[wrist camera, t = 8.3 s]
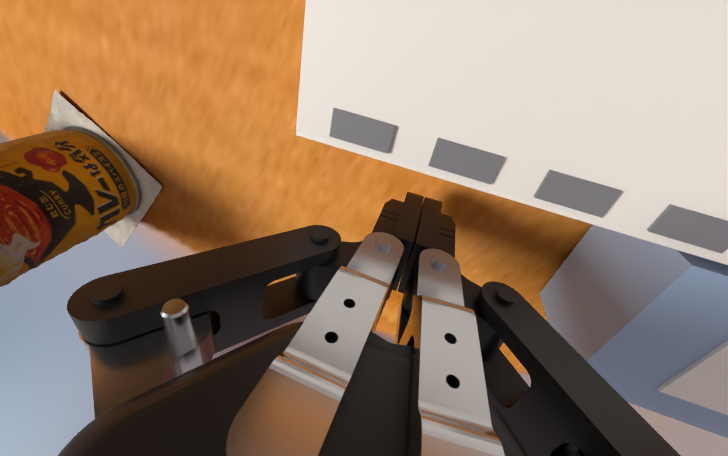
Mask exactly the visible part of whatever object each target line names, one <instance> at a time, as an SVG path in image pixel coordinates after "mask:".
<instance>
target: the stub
mask: <svg viewBox="0 0 728 456" xmlns="http://www.w3.org/2000/svg"><path fill="white" fill-rule="evenodd" d="M539 294H540V297H541V301H542V304H543V307H544V310H545V314H546V317H547V320H548V323H549V324H550V325H551V326H552V327H553V328H554V329H555V330H556V331H557V332H558V333H559V334H560V335H561V336H562V337H563V338H564V339H565V340H566V341H567V342H568V343H569V344H570V345H571V346H572V347H573V348H574V349H575V350H576V351H577V352H578V353H579V354H580V355H581V356H582V357H583V358H584V359H585V360H586V361H587V362H588V363H589V364H590V365H591V366H592V367H593V368H594V369H595V370H596V371H597V372H598V373H599V374H600V375H601V376H602V377H603V378H604V379H605V380H606V381H607V382H608V383H609V384H610V385H611V386H612V387H613V388H614V389H615V390H616V391H617V392H618V393H619V394H620V395H621V396H622V397H623V398H624V399H625V400H626V401H627V402H629V403H631V404H634V405H637V406H640V407H643V408H645V409H648V410H651V411H654V412H657V413H660V414H662V415H665V416H668V417H671V418H674V419H676V420H679V421H682V422H685V423H687V424H690V425H693V426H696V427H699V428H701V429H704V430H707V431H710V432H713V433H716V434H718V435H721V436H724V437H727V438H728V265H725V264H722V263H719V262H716V261H712V260H709V259H706V258H702V257H699V256H696V255H692V254H689V253H686V252H682V251H679V250H676V249H672V248H669V247H666V246H662V245H659V244H656V243H653V242H649V241H646V240H643V239H639V238H636V237H633V236H629V235H626V234H623V233H619V232H616V231H613V230H609V229H606V228H603V227H600V226H596V225H592V226H591V227H590V229H589V230H588V231H587V233H586V234H585V235H584V236H583V238H582V239H581V240H580V242H579V243H578V244H577V245H576V247H575V248H574V249H573V251H572V252H571V253H570V255H569V256H568V257H567V258H566V260H565V261H564V262H563V264H562V265H561V266H560V268H559V269H558V270H557V271H556V273H555V274H554V275H553V277H552V278H551V279H550V280H549V282H548V283H547V284H546V286H545V287H544V288H543V290H542V291H541V292H540V293H539Z"/></svg>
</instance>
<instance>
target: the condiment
mask: <svg viewBox="0 0 728 456" xmlns="http://www.w3.org/2000/svg"><path fill="white" fill-rule="evenodd" d="M48 119H49V120H48V124H47V127H46V128H45V130H46V131H45V133H41V134H36V135H32V136H28V137H24V138H20V139H16V140H12V141H8V142H4V143H0V287H1V286H3V285H7V284H9V283H10V282H11V281H12V280H14V279H16V278H17V277H18V276H20V275H22V274H23V273H25V272H27V271H29V270H31V269H33V268H36V267H38V266H39V265H40V264H42V263H44V262H46V261H48V260H50V259H52V258H54V257H55V256H57V255H59V254H61V253H63V252H65V251H67V250H69V249H70V248H72V247H73V246H75V245H77V244H80V243H81V242H84V241H87V240H88V239H89V238H91V237H92V236H95V235H97V234H99V233H100V232H102V231H104V232H106V233H107V234H108V235H109V236H110V237H111V238H112V239H113V240H114V241H116V242H117V243H118V244H119V245H120V246H122V247H123V246H124V245H125V243H126V242H127V240H128V239H129V237H130V235H131V234H132V232H133V231H134V229H135V228H136V227H137V225H138V223H139V222H140V221H141V219H142V218H143V217H144V215H145V214H146V212H147V210H148V209H149V208H150V206H151V204H152V203H153V202H154V200H155V198H156V197H157V195H158V194H159V192H160V190H161V188H162V186H161V185H160V184H159V183H158V182H157V181H156V180H155V179H154V178H153V177H152V176H151V175H150V174H148V173H147V171H146V170H145V169H144V168H142V167H141V166H140V165H139V164H138V163H137V161H135V160H134V159H133V158H132V157H131V156H130V155H129V154H128V153H126V152H125V151H124V150H123V149H122V148H121V147H120V146H119V145H118V144H117V143H116V142H115V141H114V140H112V139H111V138H110V137H109V136H108V135H107V134H106V133H105V132H103V131H102V130H101V129H100V128H99V127H98V126H97V125H95V124H94V123H93V122H92V121H91V120H90V119H88V118H87V117H86V116H85V115H84V114H82V113H81V112H79V111H78V110H77V109H76V108H75V107H74V106H73V105H71V104H70V103H69V102H68V101H67V100H66V99H65V98H63V97H62V96H61V95H60V94H59V93H58V92H57V91H56V90H54V94H53V100H52V105H51V111H50V114H49V116H48Z"/></svg>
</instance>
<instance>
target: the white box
mask: <svg viewBox="0 0 728 456" xmlns="http://www.w3.org/2000/svg"><path fill="white" fill-rule="evenodd" d="M296 135H298V136H301V137H305V138H308V139H311V140H314V141H318V142H321V143H324V144H328V145H331V146H334V147H338V148H341V149H344V150H348V151H351V152H354V153H358V154H361V155H364V156H367V157H371V158H374V159H377V160H381V161H384V162H387V163H391V164H394V165H397V166H401V167H404V168H407V169H411V170H414V171H417V172H421V173H424V174H427V175H430V176H434V177H437V178H440V179H444V180H447V181H450V182H454V183H457V184H460V185H464V186H467V187H470V188H474V189H477V190H480V191H484V192H487V193H490V194H493V195H497V196H500V197H503V198H507V199H510V200H513V201H517V202H520V203H523V204H527V205H530V206H533V207H537V208H540V209H543V210H546V211H550V212H553V213H556V214H560V215H563V216H566V217H570V218H573V219H576V220H580V221H583V222H586V223H590V224H593V225H596V226H600V227H603V228H606V229H609V230H613V231H616V232H619V233H623V234H626V235H629V236H633V237H636V238H639V239H643V240H646V241H649V242H653V243H656V244H659V245H662V246H666V247H669V248H672V249H676V250H679V251H682V252H686V253H689V254H692V255H696V256H699V257H702V258H706V259H709V260H712V261H716V262H719V263H722V264H725V265H728V0H306V6H305V20H304V33H303V46H302V59H301V72H300V86H299V99H298V112H297V125H296Z"/></svg>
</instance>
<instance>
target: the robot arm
mask: <svg viewBox="0 0 728 456" xmlns="http://www.w3.org/2000/svg"><path fill="white" fill-rule="evenodd" d="M423 199H424V197H423V196H420V195H417V194H413V193H410V192H407V195H406V198H405V201H404V202H401V201H397V200H394V199H391V200H390V201H388V202H386V203H385V205H384V207H383V209H382V211H381V214H380V216H379V218H378V220H377V222H376V225H375V227H374V229H373V231H372V233H370V234H368V235H367V236H366V237H365V238H364V240H363V241H361V242H342V241H341V237H340V235H339V234H338V232H336V231H335V230H334V229H332V228H330V227H327V226H322V225H312V226H308V227H304V228H299V229H295V230H291V231H287V232H283V233H279V234H275V235H271V236H267V237H263V238H259V239H254V240H250V241H246V242H242V243H238V244H234V245H230V246H226V247H222V248H218V249H214V250H210V251H205V252H201V253H197V254H193V255H189V256H185V257H181V258H177V259H173V260H169V261H165V262H161V263H156V264H152V265H148V266H144V267H140V268H136V269H132V270H128V271H124V272H120V273H115V274H111V275H107V276H104V277H101V278H97V279H95V280H92V281H90V282H88V283H87V284H85V285H83V286H82V287H80V288H79V289H78V290H76V291H75V292H74V293H73V295H72V296H71V297H70V299H69V301H68V304H67V310H68V313H69V314H70V316H71V318H72V320H73V322H74V323H75V325H76V327H77V329H78V332H79V337H80V339H81V341H82V343H83V344H84V346H85V348H86V350H87V351H88V353H89V355H90V357H91V369H92V370H91V371H92V383H93V398H94V411H95V420H93V421H92V422H91V423H89V424H88V425H87V426H86V427H84V428H83V429H82V430H81V431H80V432H79V433H78V434H77V435H76V436H75V437H74V438H73V439H72V440H71V441H70V442H69V443H68V444H67V445H66V446H65V448H64V449H63V450H62V451H61V452H60V453H59V455H58V456H680V455H679V454H678V453H677V452H676V451H675V450H674V449H673V448H672V447H671V446H670V445H669V444H668V443H667V442H666V441H665V440H664V439H663V438H662V437H661V436H660V435H659V434H658V433H657V432H656V431H655V430H654V429H653V428H652V427H651V426H650V425H649V424H648V423H647V422H646V421H645V420H644V419H643V418H642V417H641V416H640V415H639V414H638V413H637V412H636V411H635V410H634V409H633V408H632V407H631V406H630V405H629V404H628V402H627V401H626V400H625V399H624V398H623V397H622V396H621V395H620V394H619V393H618V392H617V391H616V390H615V389H614V388H613V387H612V386H611V385H610V384H609V383H608V382H607V381H606V380H605V379H604V378H603V377H602V376H601V375H600V374H599V373H598V372H597V371H596V370H595V369H594V368H593V367H592V366H591V365H590V364H589V363H588V362H587V361H586V360H585V359H584V358H583V357H582V356H581V355H580V354H579V353H578V352H577V351H576V350H575V349H574V348H573V347H572V346H571V345H570V344H569V343H568V342H567V341H566V340H565V339H564V338H563V337H562V336H561V335H560V334H559V333H558V332H557V331H556V330H555V329H554V328H553V327H552V326H551V325H550V324H549V323H548V322H547V321H546V320H545V319H544V318H543V317H542V316H541V315H540V314H539V313H538V312H537V311H536V310H535V309H534V308H533V307H532V306H531V305H530V304H529V303H528V302H527V301H526V300H525V299H524V298H523V297H522V296H521V295H520V294H519V293H518V292H517V291H515V290H514V289H513V288H511V287H509V286H507V285H505V284H503V283H499V282H487V283H485V284H484V285H483V286H482V287H480V286H478V285H476V284H475V283H473V282H471V281H469V280H468V279H466V278H465V277H464V276H463V275H462V274H461V272H460V265H459V263H458V262H457V260H456V259H455V223H454V221H453V220H452V218H451V217H450V216H447V215H444V214H441V207H442V202H440V201H437V200H434V199H430V198H427V197H425V199H424V201H423ZM422 203H423V204H422ZM293 274H296V276H295V277H292V278H289V279H286V280H283V281H281V282H278V283H275V284H272V285H269V286H267V285H268V284H269V283H271V282H273V281H275V280H278V279H281V278H284V277H287V276H290V275H293ZM400 279H401V280H400ZM399 281H400V284H399ZM398 284H399V289H398V292H401V293H404V295H403V299H402V302H401V305H400V307H399V311H398V319H397V327H396V335H395V343H394V344H393V343H389V342H387V341H386V340H384V339H382V338H381V337H379V336H378V335H376V334H374V331H375V329H376V326H377V324H378V321H379V319H380V316H381V314H382V311H383V309H384V306H385V303H386V301H387V300H388V299H389V297H390V294H391V291H392V290H395V291H396V290H397V287H398ZM308 313H309V315H308V316H307V318H306V320H305V321H304V322H298V323H293V324H290V325H287V326H283V327H281V328H279V329H277V330H274V331H272V332H270V333H268V334H266V335H264V336H262V337H260V338H257V339H256V340H253V341H251V342H249V343H247V344H245V345H243V346H240V347H239V348H236V349H234V350H232V351H230V352H228V353H226V354H223V355H221V356H219V357H217V358H215V359H213V360H212V358H213V355H214V354H215V353H217V352H219V351H222V350H224V349H226V348H229V347H231V346H233V345H236V344H238V343H240V342H242V341H245V340H247V339H250V338H252V337H254V336H257V335H259V334H261V333H263V332H266V331H268V330H271V329H273V328H275V327H278V326H280V325H282V324H284V323H287V322H289V321H292V320H294V319H296V318H298V317H301V316H303V315H306V314H308ZM503 343H505V344H506V345H507V347H508V348H509V349H510V350H511V351H512V353H513V354H514V355H515V356H516V358H517V359H518V360H519V361H520V362H521V364H522V365H523V366H524V367H525V368H526V370H527V371H528V373H529V375H530V378H531V387H529V386H528V385H527V383H526V382H525V381H524V380H523V378H522V377H521V376H520V375H519V373H518V372H517V371H516V370H515V368H514V367H513V366H512V365H511V363H510V362H509V361H508V360H507V358H506V357H505V356H504V354H503V353H502V352H501V351H500V349H499V348H500V347H501V345H502V344H503Z"/></svg>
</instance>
